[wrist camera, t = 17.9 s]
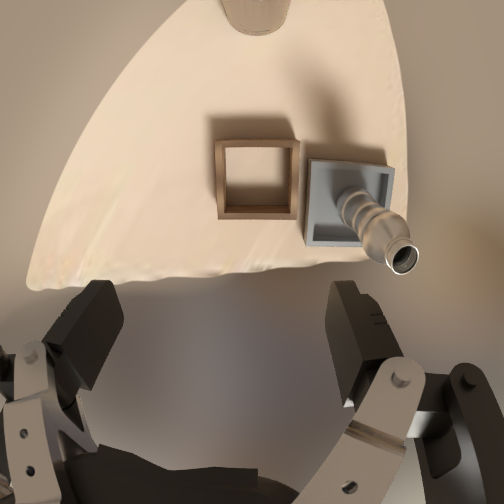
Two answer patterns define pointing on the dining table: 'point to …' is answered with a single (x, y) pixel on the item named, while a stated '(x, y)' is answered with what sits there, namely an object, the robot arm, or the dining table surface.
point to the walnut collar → (257, 210)
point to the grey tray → (328, 191)
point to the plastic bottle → (378, 230)
